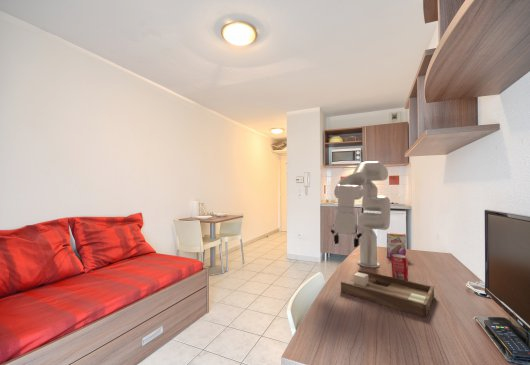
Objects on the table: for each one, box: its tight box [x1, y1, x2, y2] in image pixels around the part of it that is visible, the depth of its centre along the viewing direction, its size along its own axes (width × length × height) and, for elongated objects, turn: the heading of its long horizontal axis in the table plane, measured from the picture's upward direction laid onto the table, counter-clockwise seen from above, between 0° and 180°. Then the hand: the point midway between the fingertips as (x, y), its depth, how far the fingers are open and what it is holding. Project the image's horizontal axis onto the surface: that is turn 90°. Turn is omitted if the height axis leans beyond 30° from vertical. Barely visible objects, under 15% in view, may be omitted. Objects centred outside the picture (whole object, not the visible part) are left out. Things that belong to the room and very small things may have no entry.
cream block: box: [353, 271, 368, 286], centre depth 113 cm, size 5×5×4 cm
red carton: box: [391, 254, 409, 281], centre depth 120 cm, size 7×7×13 cm
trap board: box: [340, 269, 435, 318], centre depth 105 cm, size 22×32×4 cm
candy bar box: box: [386, 231, 407, 259], centre depth 162 cm, size 11×5×16 cm, turn 66°
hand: (346, 245), depth 118 cm, fingers open, 9 cm apart
